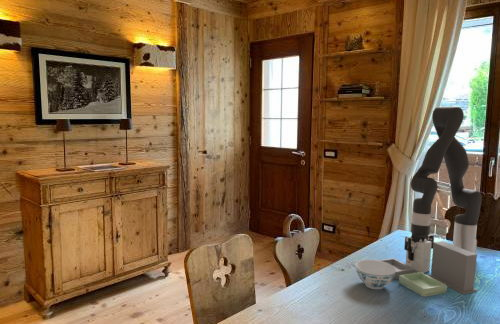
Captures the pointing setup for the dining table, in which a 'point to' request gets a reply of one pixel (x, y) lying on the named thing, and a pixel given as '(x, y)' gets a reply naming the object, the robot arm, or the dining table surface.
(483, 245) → the dining table surface
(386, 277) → the chinaware
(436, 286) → the sage tray
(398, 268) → the grey tray
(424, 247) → the small box
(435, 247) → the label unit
